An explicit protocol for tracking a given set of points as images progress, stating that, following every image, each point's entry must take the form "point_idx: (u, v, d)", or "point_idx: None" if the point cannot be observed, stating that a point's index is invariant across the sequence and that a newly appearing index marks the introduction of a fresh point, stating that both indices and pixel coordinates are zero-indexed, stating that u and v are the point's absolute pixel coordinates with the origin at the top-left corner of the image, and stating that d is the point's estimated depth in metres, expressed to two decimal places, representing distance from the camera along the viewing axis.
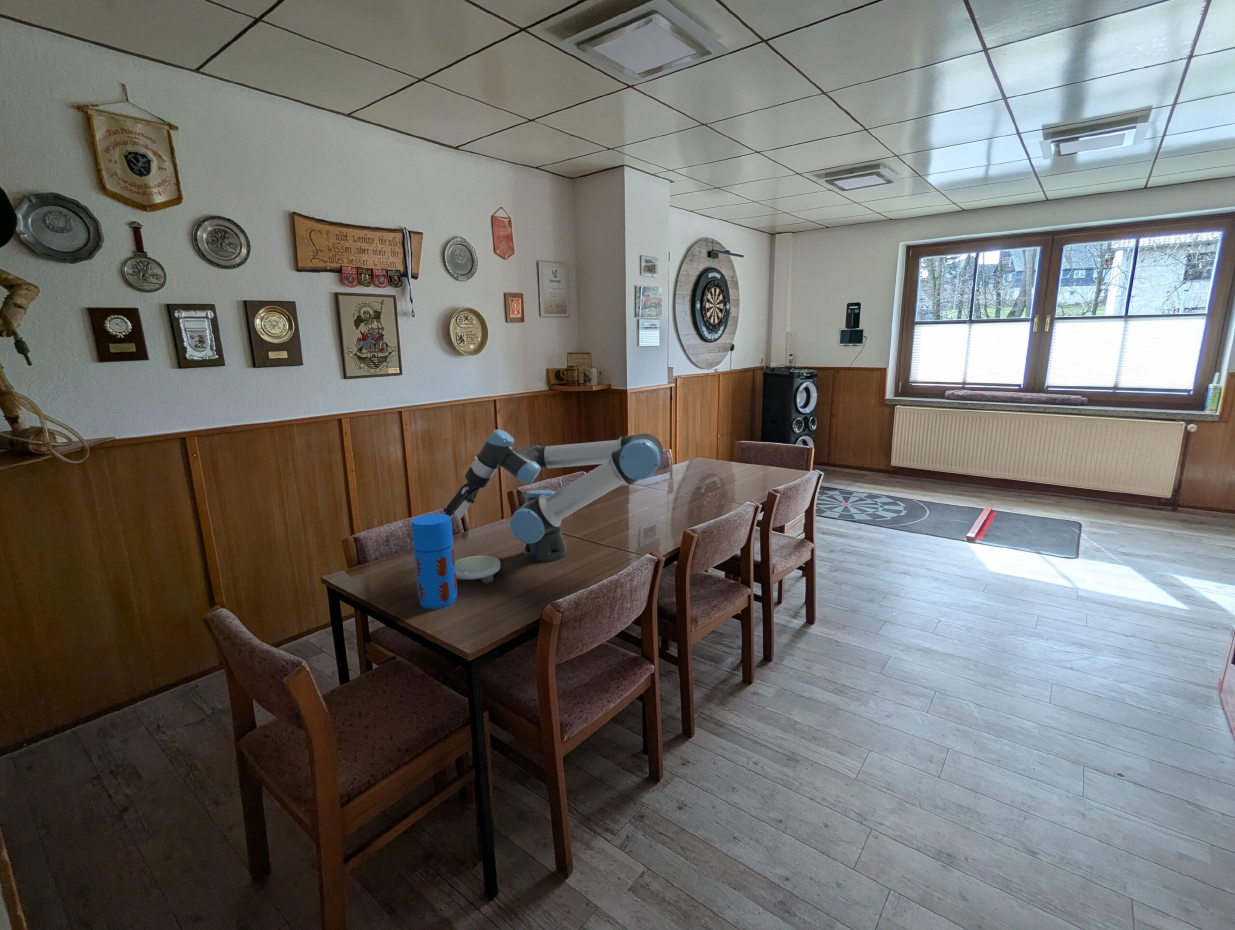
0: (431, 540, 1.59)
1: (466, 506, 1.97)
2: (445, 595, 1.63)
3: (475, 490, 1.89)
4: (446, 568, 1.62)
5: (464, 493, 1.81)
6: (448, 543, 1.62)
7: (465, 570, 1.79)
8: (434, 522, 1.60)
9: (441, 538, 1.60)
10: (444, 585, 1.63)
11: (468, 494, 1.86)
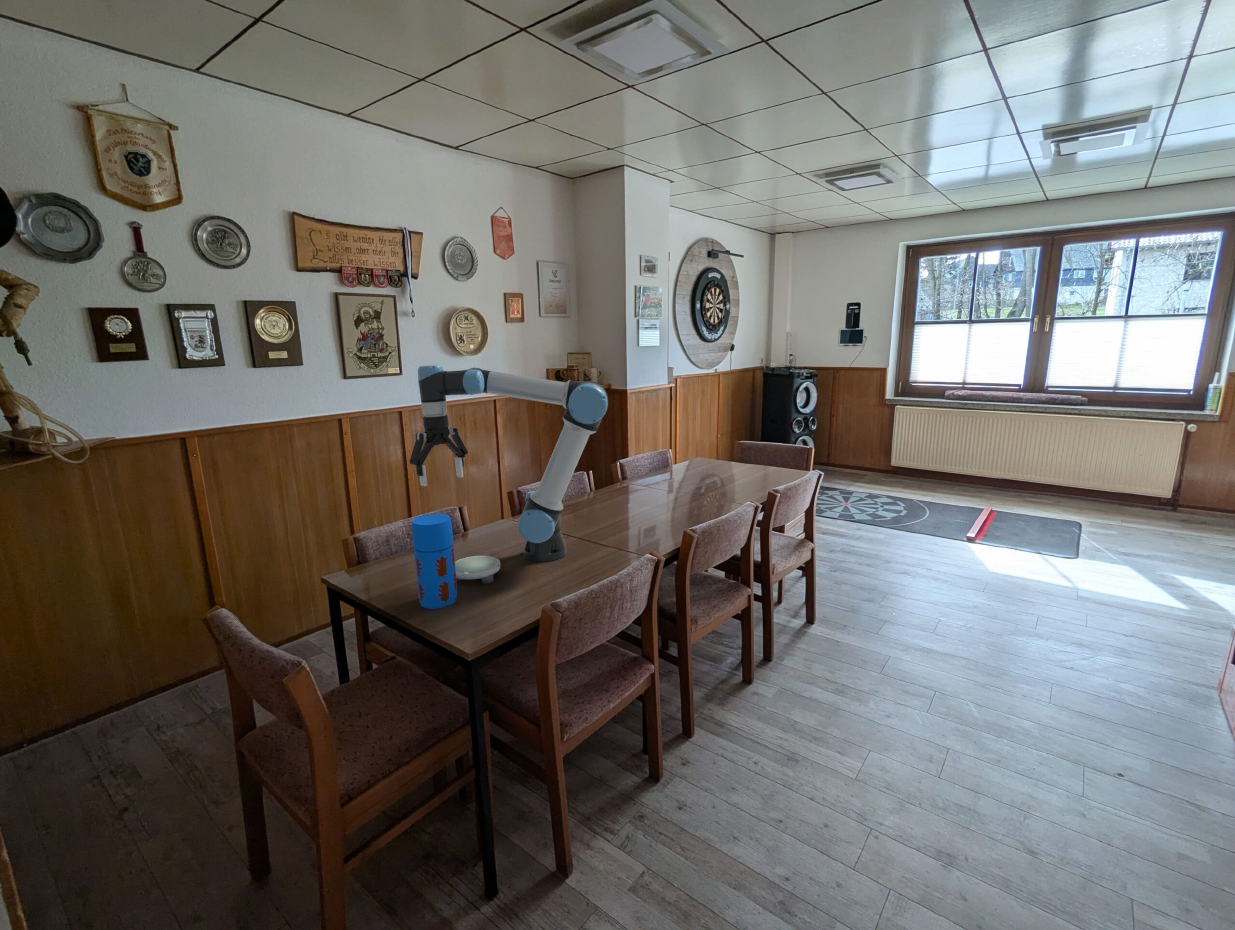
0: (431, 540, 1.59)
1: (459, 462, 1.87)
2: (445, 595, 1.63)
3: (442, 436, 1.80)
4: (446, 568, 1.62)
5: (419, 438, 1.75)
6: (448, 543, 1.62)
7: (465, 570, 1.79)
8: (434, 522, 1.60)
9: (441, 538, 1.60)
10: (444, 585, 1.63)
11: None
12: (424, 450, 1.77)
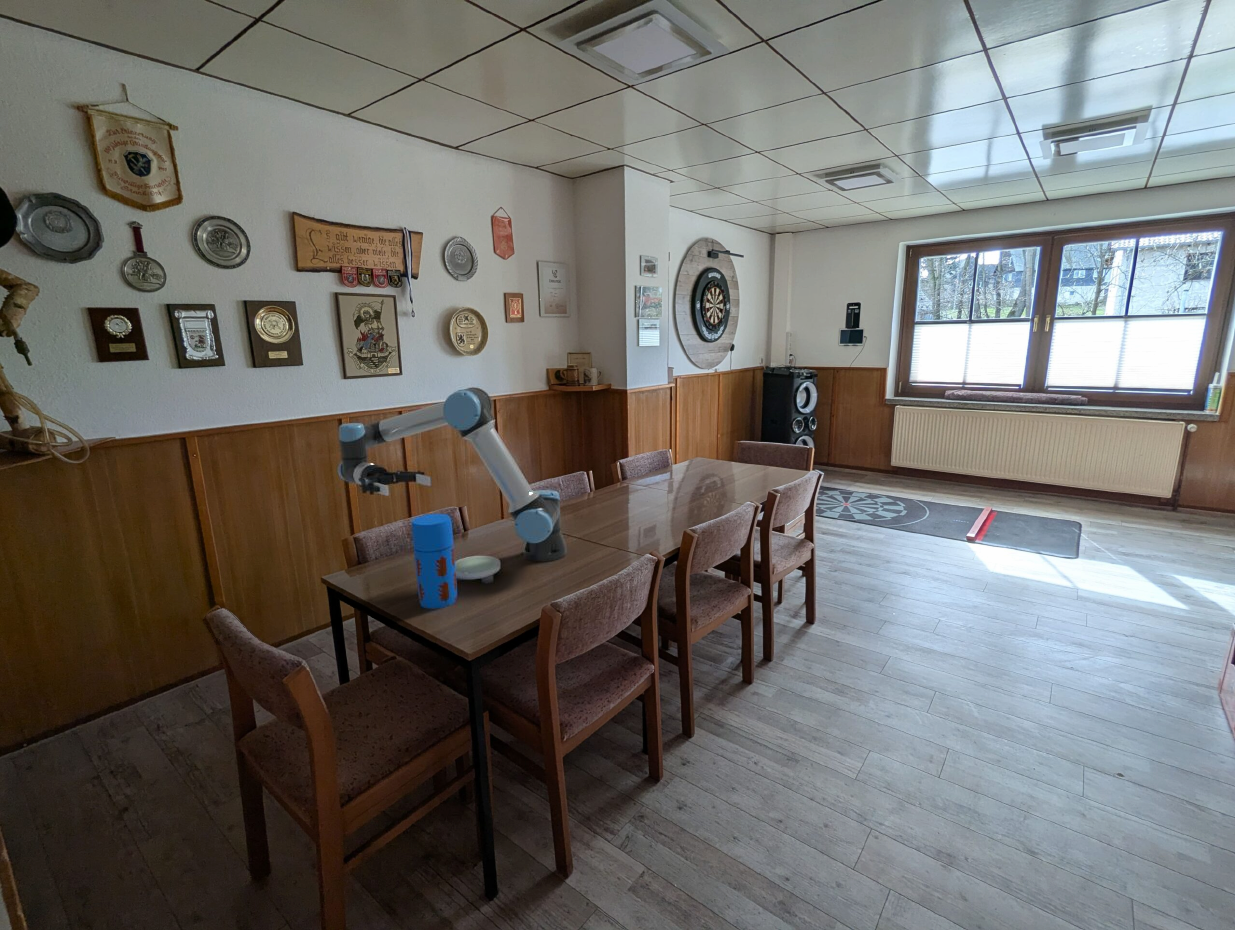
0: (431, 540, 1.59)
1: (418, 476, 1.75)
2: (445, 595, 1.63)
3: (384, 473, 1.76)
4: (446, 568, 1.62)
5: (359, 480, 1.71)
6: (448, 543, 1.62)
7: (465, 570, 1.79)
8: (434, 522, 1.60)
9: (441, 538, 1.60)
10: (444, 585, 1.63)
11: None
12: None
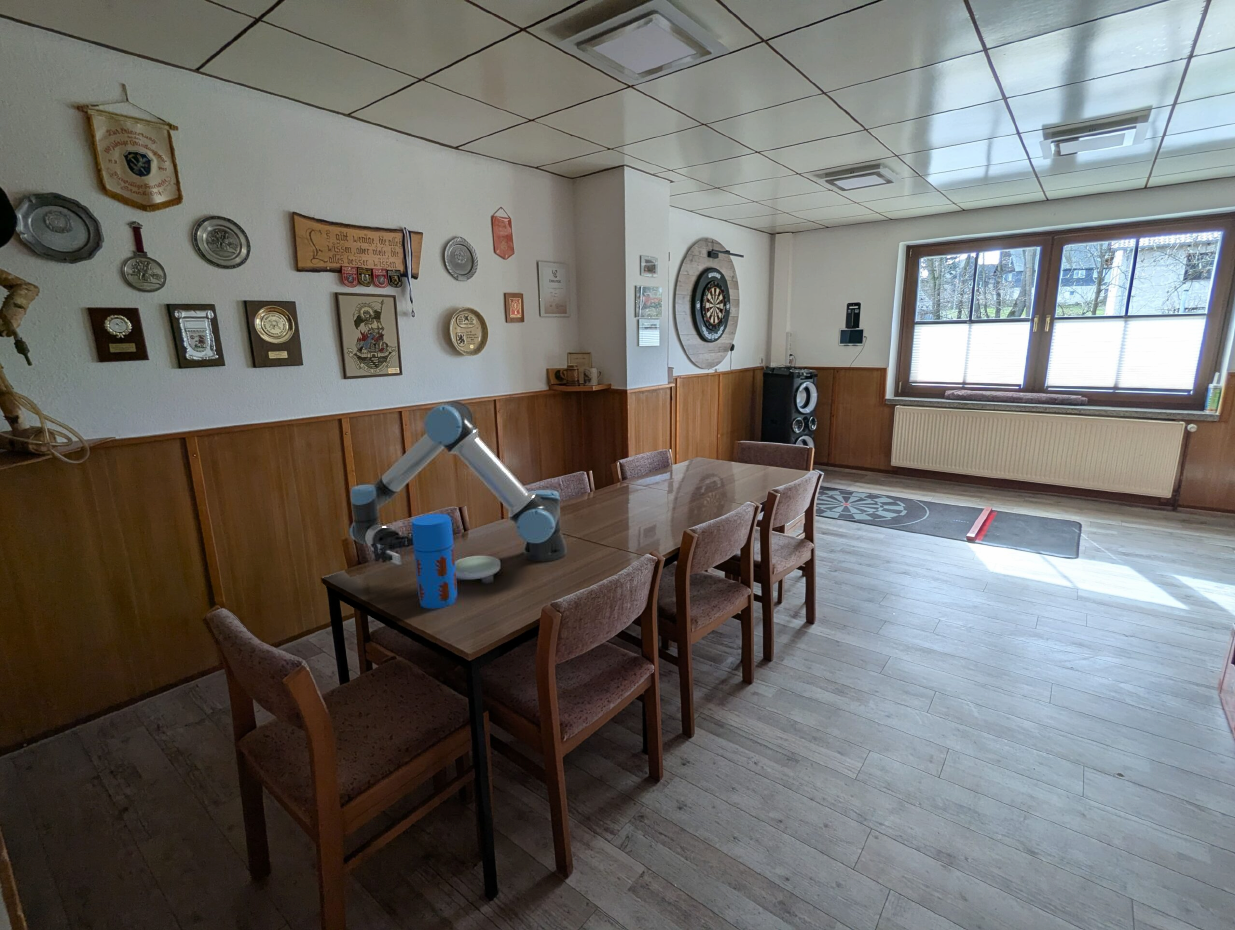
0: (431, 540, 1.59)
1: None
2: (445, 595, 1.63)
3: (396, 537, 1.78)
4: (446, 568, 1.62)
5: (372, 546, 1.73)
6: (448, 543, 1.62)
7: (465, 570, 1.79)
8: (434, 522, 1.60)
9: (441, 538, 1.60)
10: (444, 585, 1.63)
11: None
12: None
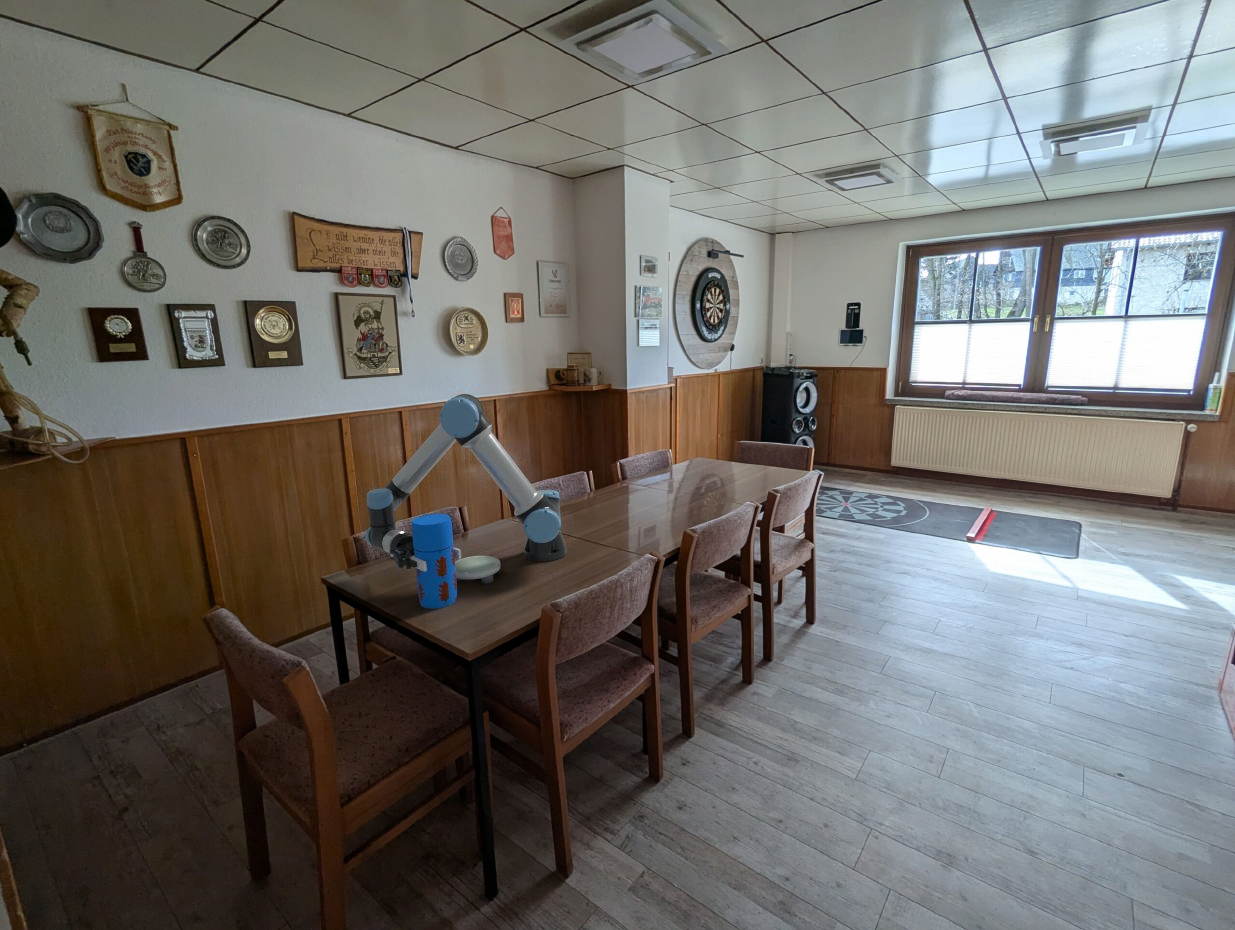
0: (431, 540, 1.59)
1: None
2: (445, 595, 1.63)
3: None
4: (445, 568, 1.62)
5: (391, 553, 1.67)
6: (448, 543, 1.62)
7: (465, 570, 1.79)
8: (434, 522, 1.60)
9: (441, 538, 1.60)
10: (444, 585, 1.63)
11: None
12: None
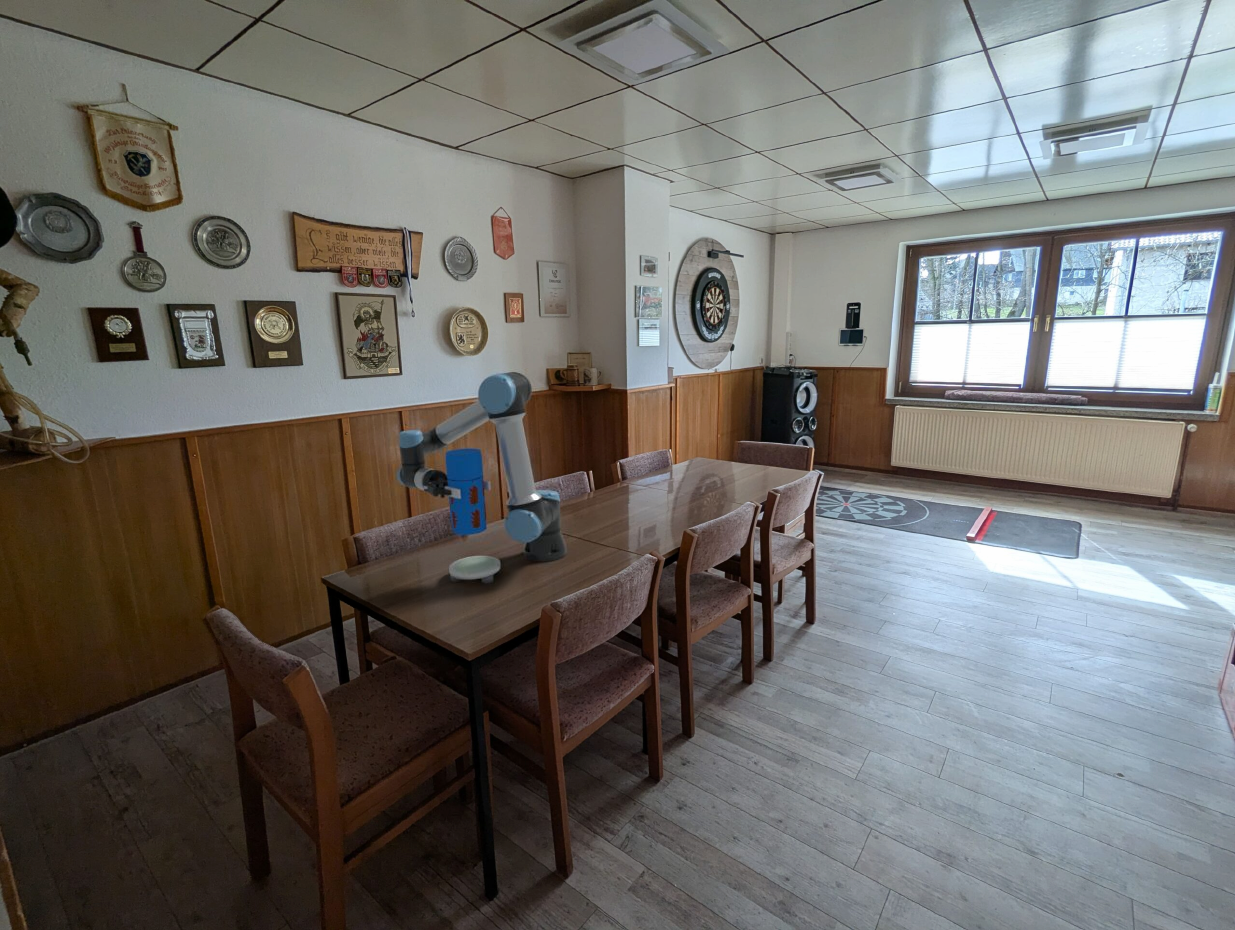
0: (464, 470, 1.71)
1: None
2: (477, 522, 1.76)
3: (445, 477, 1.84)
4: (477, 496, 1.74)
5: (425, 485, 1.79)
6: (479, 473, 1.74)
7: (465, 570, 1.79)
8: (466, 453, 1.72)
9: (473, 468, 1.72)
10: (476, 513, 1.75)
11: None
12: (439, 487, 1.78)
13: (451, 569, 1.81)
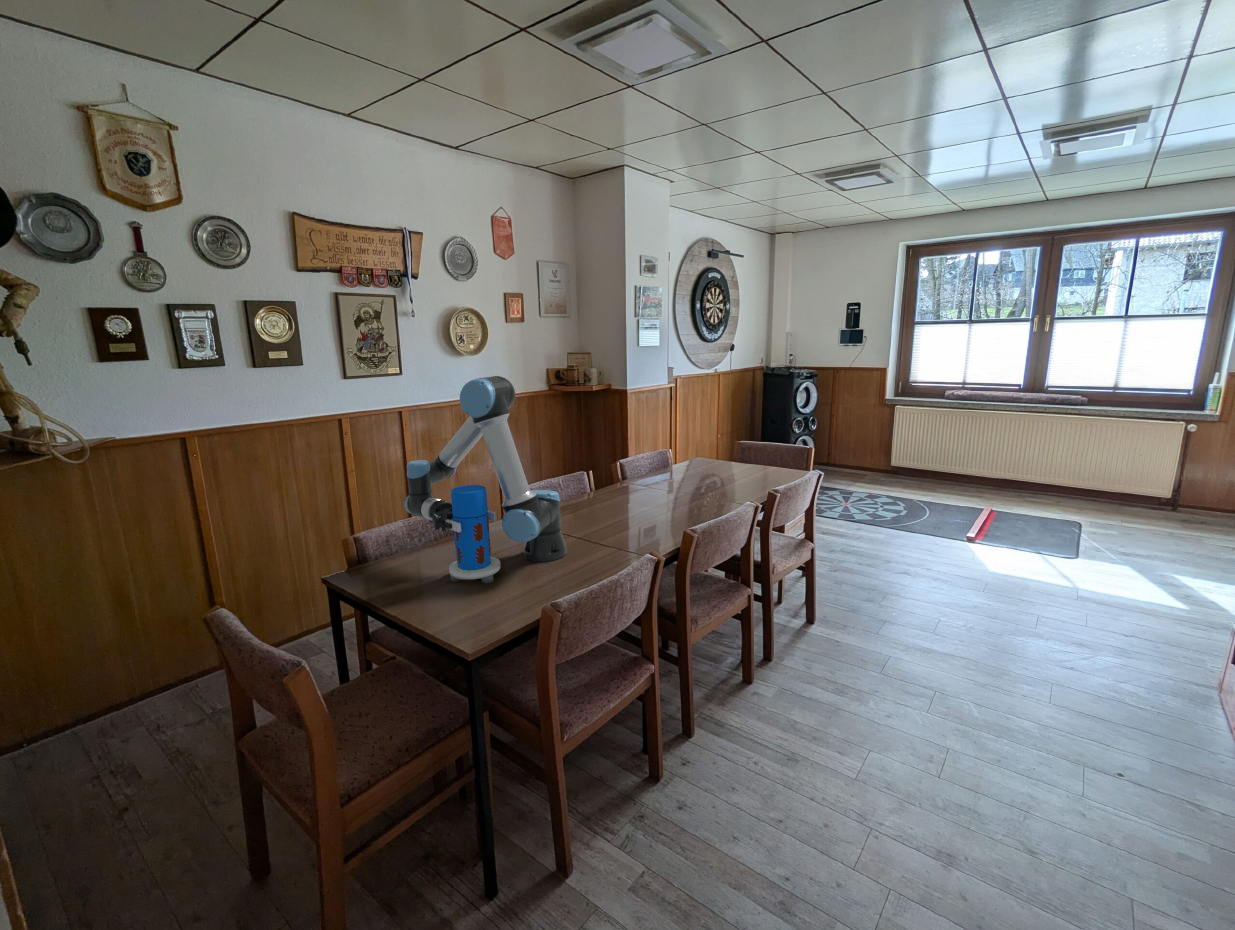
0: (469, 507, 1.75)
1: None
2: (481, 558, 1.79)
3: (451, 508, 1.88)
4: (482, 533, 1.78)
5: (430, 516, 1.83)
6: (484, 510, 1.78)
7: (465, 570, 1.79)
8: (471, 491, 1.76)
9: (478, 506, 1.76)
10: (480, 549, 1.79)
11: None
12: None
13: (451, 569, 1.81)
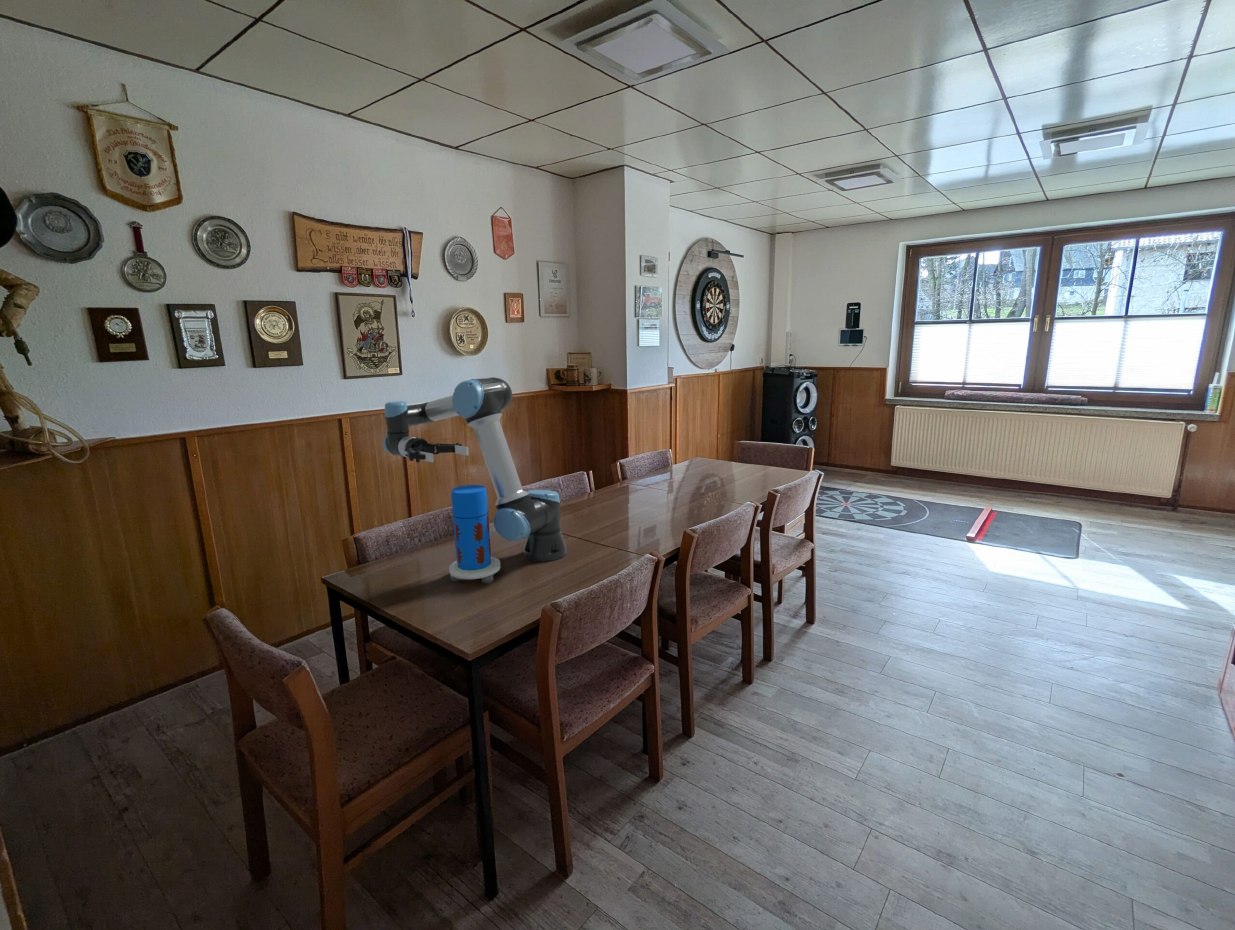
0: (469, 507, 1.75)
1: (457, 447, 1.96)
2: (481, 558, 1.79)
3: (426, 444, 1.97)
4: (482, 533, 1.78)
5: (406, 450, 1.92)
6: (484, 511, 1.78)
7: (465, 570, 1.79)
8: (472, 491, 1.76)
9: (478, 506, 1.76)
10: (480, 549, 1.79)
11: None
12: None
13: (451, 569, 1.81)
